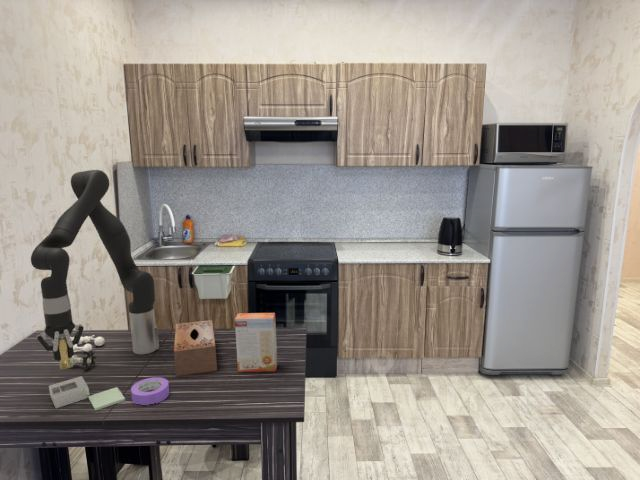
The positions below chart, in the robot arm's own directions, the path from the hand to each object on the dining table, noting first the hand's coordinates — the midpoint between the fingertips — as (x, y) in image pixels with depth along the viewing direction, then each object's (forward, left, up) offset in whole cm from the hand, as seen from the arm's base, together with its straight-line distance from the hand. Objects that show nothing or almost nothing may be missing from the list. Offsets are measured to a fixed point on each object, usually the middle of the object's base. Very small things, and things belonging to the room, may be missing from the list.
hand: (64, 358), depth 148 cm
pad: (-9, +10, -14) cm, 19 cm away
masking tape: (-21, +17, -14) cm, 31 cm away
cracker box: (-58, +24, -14) cm, 64 cm away
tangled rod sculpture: (-10, -39, -14) cm, 43 cm away
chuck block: (0, 0, -14) cm, 14 cm away
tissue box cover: (-44, +1, -14) cm, 46 cm away
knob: (0, 0, -3) cm, 3 cm away
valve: (-6, -21, -14) cm, 26 cm away
